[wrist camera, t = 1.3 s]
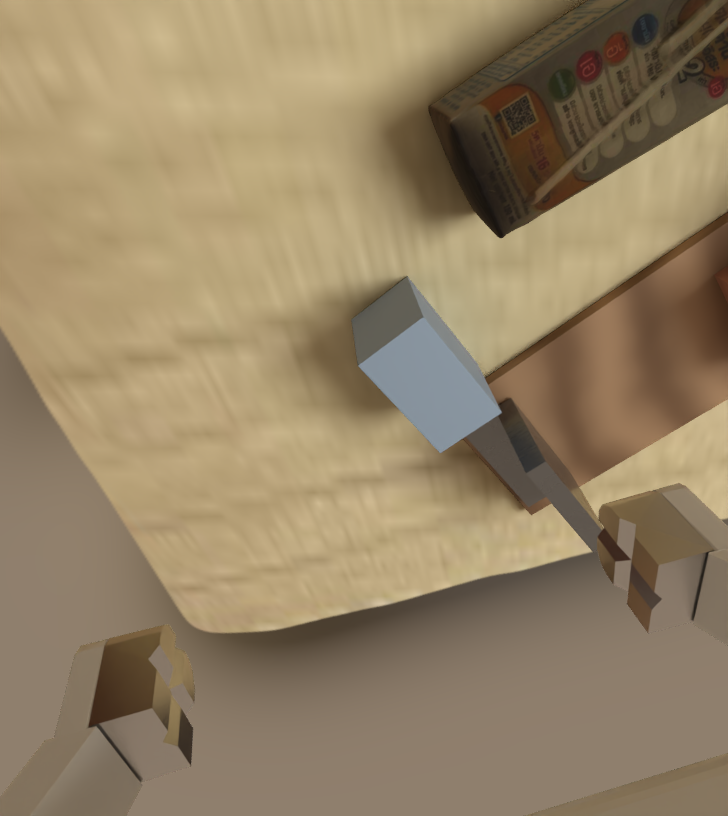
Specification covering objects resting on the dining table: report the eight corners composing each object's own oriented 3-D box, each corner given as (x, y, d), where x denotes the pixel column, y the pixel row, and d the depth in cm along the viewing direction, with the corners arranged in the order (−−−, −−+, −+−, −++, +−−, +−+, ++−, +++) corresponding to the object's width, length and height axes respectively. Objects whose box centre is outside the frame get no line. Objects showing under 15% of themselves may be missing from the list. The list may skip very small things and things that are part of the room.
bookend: (510, 397, 46) (545, 461, 39) (571, 473, 50) (611, 542, 43) (462, 429, 47) (488, 497, 40) (525, 501, 51) (558, 571, 45)
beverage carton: (757, 49, 35) (838, 53, 30) (473, 220, 40) (499, 250, 34) (729, -98, 32) (817, -125, 26) (418, 108, 36) (437, 122, 30)
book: (407, 275, 41) (423, 316, 35) (476, 362, 45) (502, 412, 39) (351, 319, 43) (357, 365, 37) (423, 399, 47) (440, 453, 41)
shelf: (832, 140, 38) (999, 175, 29) (881, 296, 45) (1030, 366, 35) (440, 409, 47) (471, 501, 38) (527, 507, 54) (573, 607, 44)
